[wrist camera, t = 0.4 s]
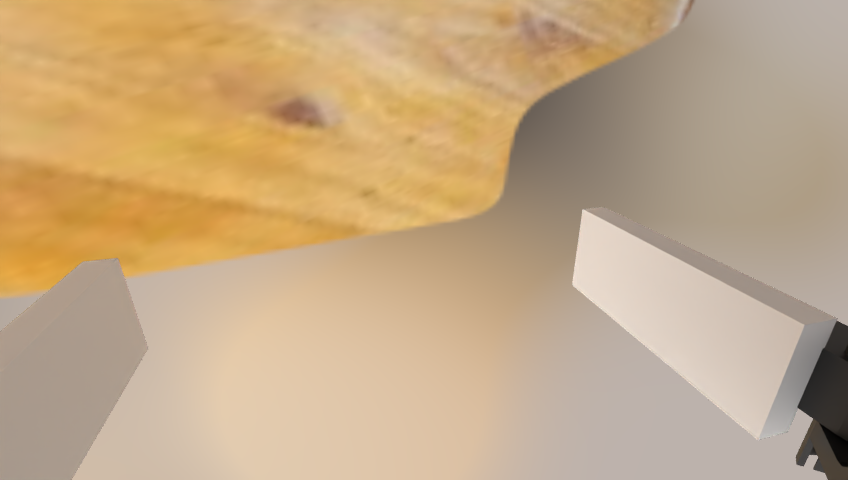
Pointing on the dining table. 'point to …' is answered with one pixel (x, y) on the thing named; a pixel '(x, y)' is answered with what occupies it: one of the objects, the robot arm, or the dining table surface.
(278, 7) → the dining table surface
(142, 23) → the dining table surface
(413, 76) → the dining table surface
